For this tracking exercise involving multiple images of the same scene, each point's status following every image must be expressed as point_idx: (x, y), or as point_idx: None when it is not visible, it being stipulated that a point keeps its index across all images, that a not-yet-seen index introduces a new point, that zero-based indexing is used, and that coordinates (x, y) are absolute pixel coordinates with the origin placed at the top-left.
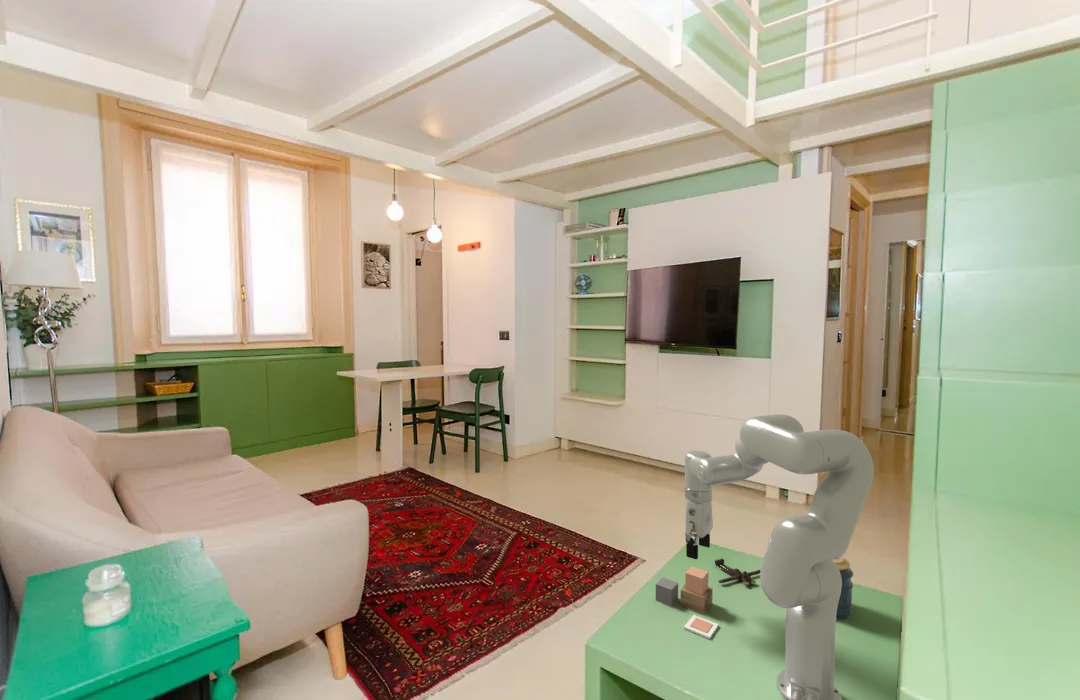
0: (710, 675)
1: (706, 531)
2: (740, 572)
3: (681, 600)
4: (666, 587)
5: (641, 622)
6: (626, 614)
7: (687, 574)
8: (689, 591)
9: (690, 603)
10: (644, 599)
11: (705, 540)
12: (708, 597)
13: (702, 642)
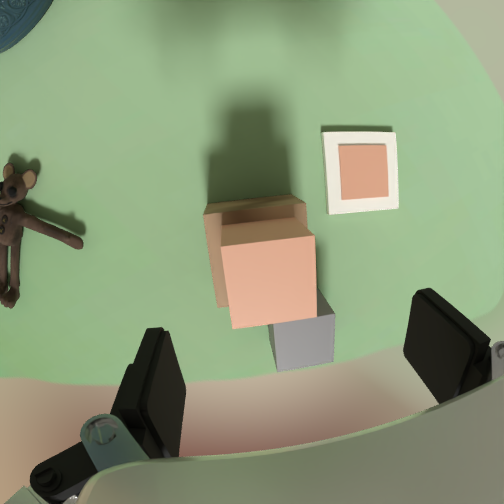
0: (476, 101)
1: (460, 444)
2: (2, 217)
3: None
4: (331, 331)
5: None
6: None
7: (315, 306)
8: None
9: None
10: (334, 350)
11: (165, 385)
12: (251, 205)
13: (412, 144)
